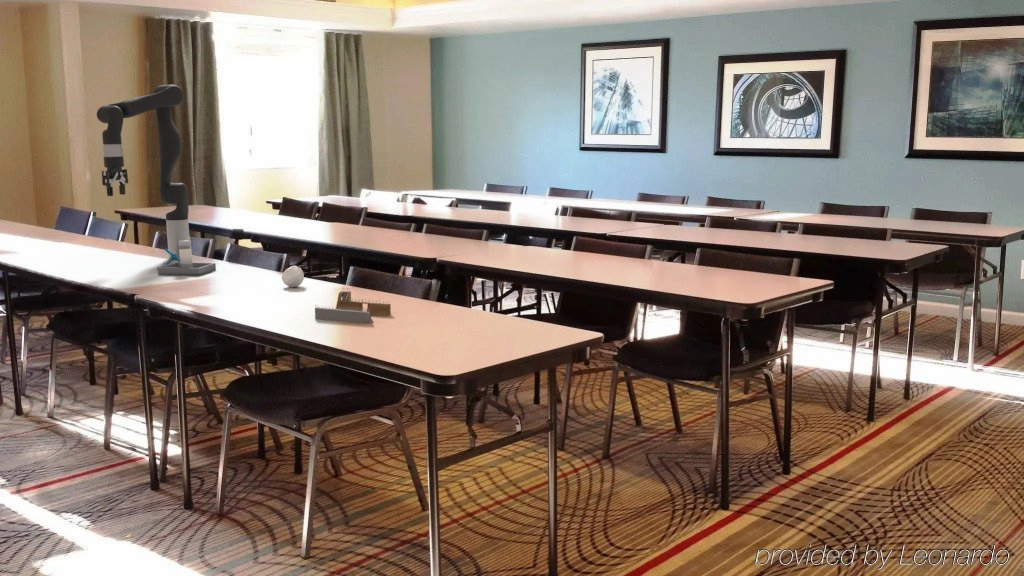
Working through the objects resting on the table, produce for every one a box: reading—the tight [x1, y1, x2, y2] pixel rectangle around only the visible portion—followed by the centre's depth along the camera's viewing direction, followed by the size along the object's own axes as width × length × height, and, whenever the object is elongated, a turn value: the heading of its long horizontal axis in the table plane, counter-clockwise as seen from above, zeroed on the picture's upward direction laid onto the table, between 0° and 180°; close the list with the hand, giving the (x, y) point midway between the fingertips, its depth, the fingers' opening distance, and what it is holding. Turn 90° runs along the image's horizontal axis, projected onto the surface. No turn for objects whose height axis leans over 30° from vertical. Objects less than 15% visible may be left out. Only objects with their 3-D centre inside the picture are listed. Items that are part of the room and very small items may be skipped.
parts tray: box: [157, 261, 217, 277], centre depth 378 cm, size 14×18×3 cm
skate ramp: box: [314, 288, 392, 325], centre depth 297 cm, size 29×35×8 cm
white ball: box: [281, 265, 305, 288], centre depth 344 cm, size 8×8×8 cm
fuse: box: [178, 239, 193, 268], centre depth 377 cm, size 5×5×12 cm
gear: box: [163, 247, 180, 265], centre depth 396 cm, size 11×6×10 cm
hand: (116, 195), depth 387 cm, fingers open, 8 cm apart
